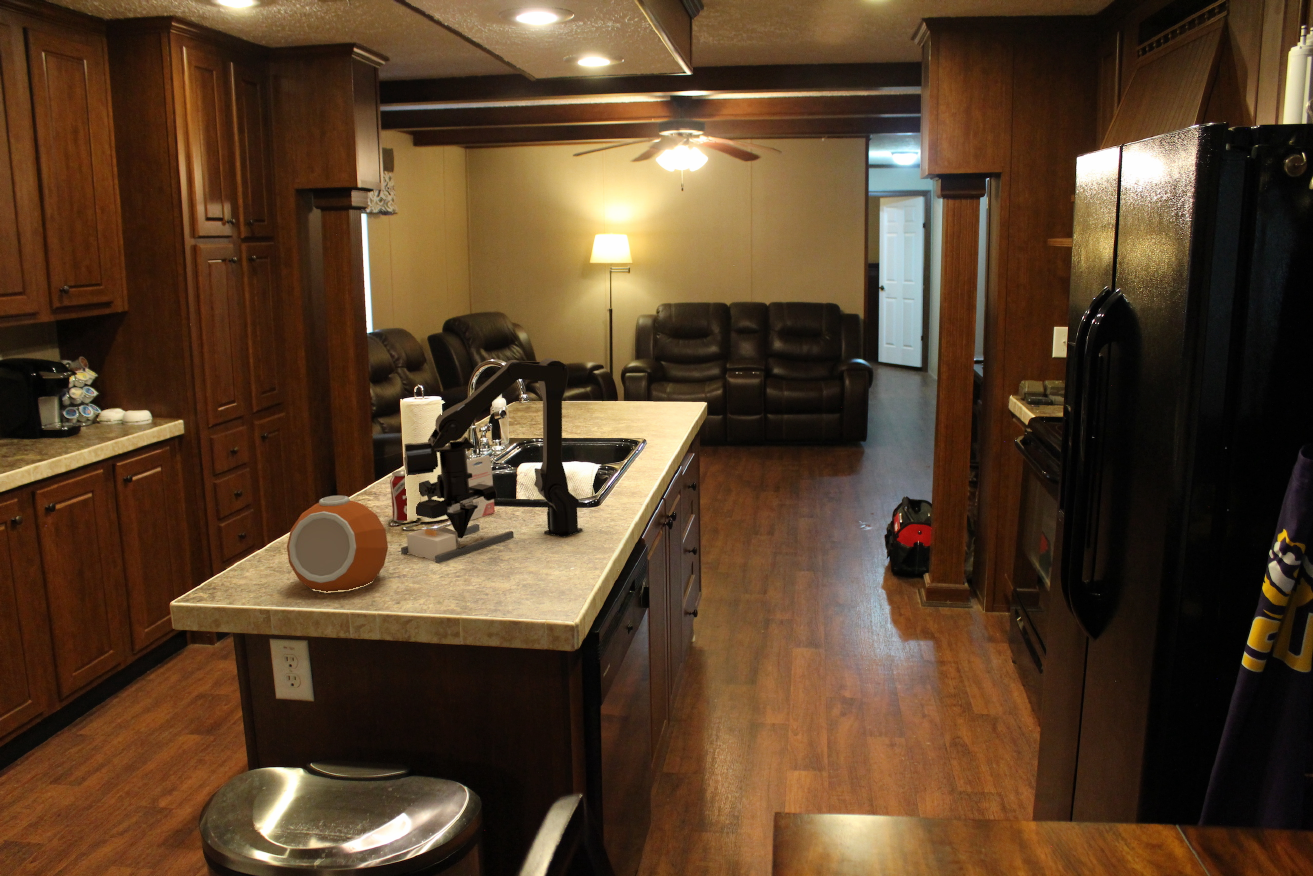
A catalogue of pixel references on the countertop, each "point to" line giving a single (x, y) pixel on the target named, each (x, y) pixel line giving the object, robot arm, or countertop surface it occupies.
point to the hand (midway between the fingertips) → (460, 538)
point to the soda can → (398, 496)
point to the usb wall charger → (449, 531)
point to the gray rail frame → (469, 547)
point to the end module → (430, 543)
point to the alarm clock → (337, 545)
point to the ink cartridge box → (481, 476)
